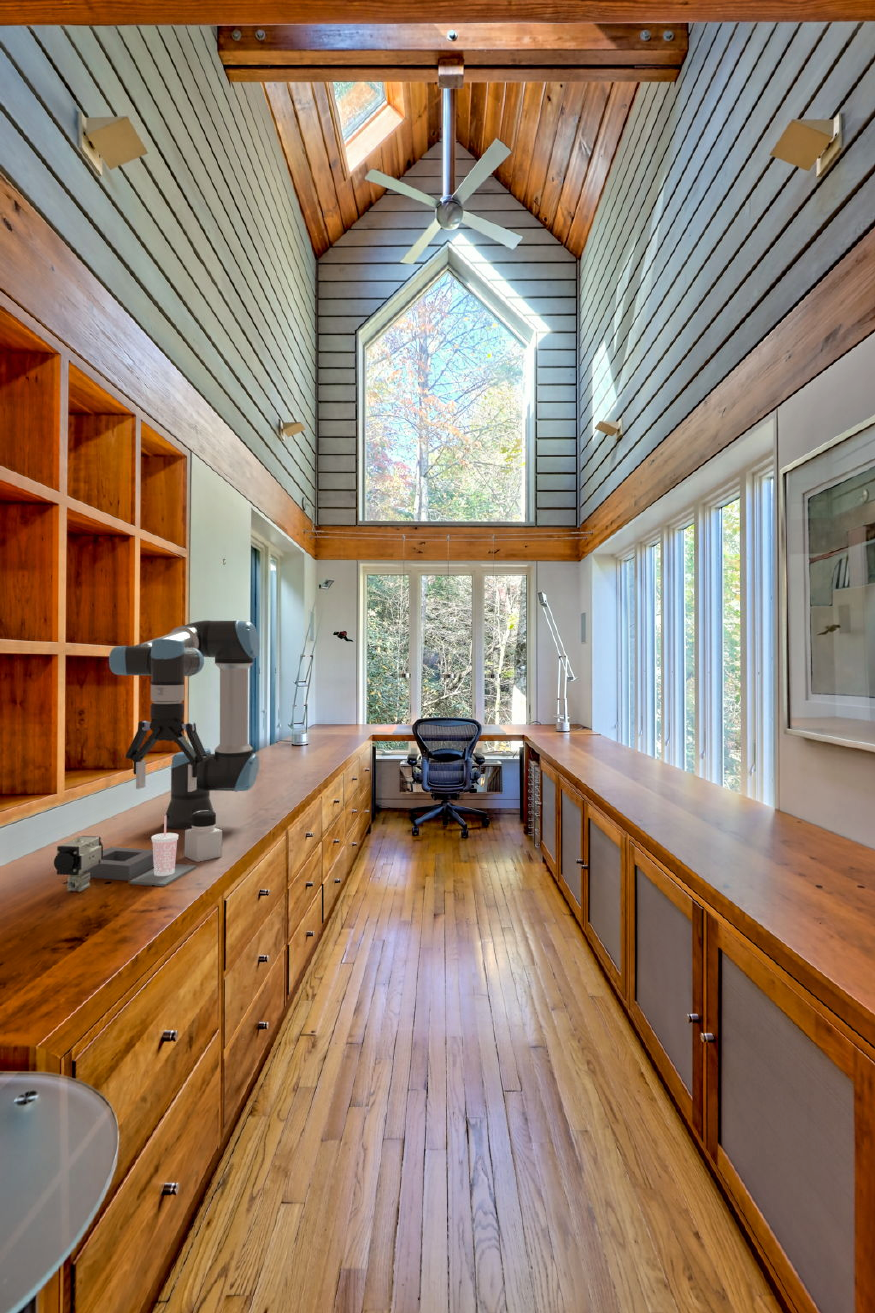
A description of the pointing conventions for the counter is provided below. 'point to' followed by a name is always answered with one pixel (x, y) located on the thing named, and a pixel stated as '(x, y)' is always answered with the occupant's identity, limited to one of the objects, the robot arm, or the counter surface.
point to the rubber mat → (155, 880)
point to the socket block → (122, 863)
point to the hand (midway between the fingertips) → (166, 789)
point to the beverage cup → (164, 852)
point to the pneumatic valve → (78, 860)
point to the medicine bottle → (203, 837)
